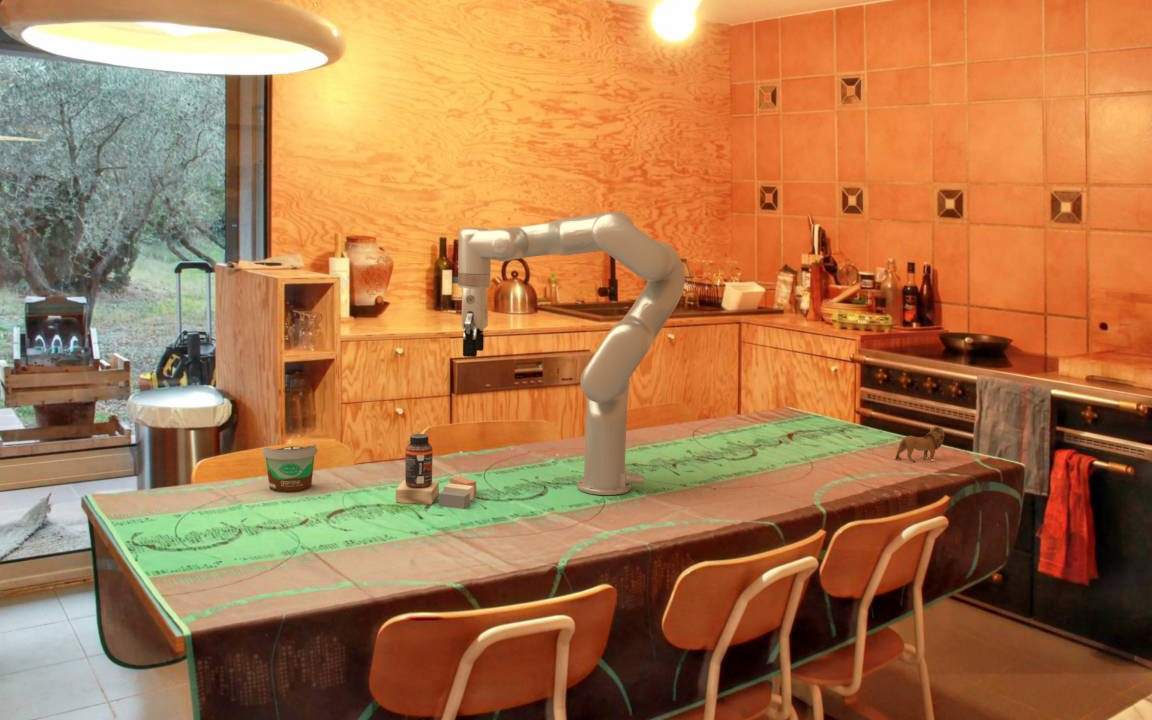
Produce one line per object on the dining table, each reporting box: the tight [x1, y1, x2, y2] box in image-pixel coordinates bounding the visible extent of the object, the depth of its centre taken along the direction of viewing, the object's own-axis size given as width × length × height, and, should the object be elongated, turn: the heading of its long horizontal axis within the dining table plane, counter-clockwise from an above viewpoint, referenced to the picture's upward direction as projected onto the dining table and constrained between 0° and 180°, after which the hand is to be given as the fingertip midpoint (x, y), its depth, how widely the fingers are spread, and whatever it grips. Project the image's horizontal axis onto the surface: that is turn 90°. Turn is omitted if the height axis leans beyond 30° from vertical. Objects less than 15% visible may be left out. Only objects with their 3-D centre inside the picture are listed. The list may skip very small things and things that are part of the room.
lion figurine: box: [894, 426, 945, 462], centre depth 284 cm, size 15×5×9 cm, turn 109°
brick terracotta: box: [449, 475, 477, 495], centre depth 242 cm, size 6×3×3 cm, turn 44°
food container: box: [261, 441, 318, 494], centre depth 239 cm, size 12×6×10 cm, turn 117°
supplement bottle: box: [404, 433, 433, 488], centre depth 235 cm, size 6×6×11 cm
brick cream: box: [443, 482, 475, 501], centre depth 237 cm, size 6×3×3 cm, turn 73°
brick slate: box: [438, 489, 471, 510], centre depth 232 cm, size 6×3×3 cm, turn 73°
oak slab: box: [395, 479, 440, 505], centre depth 236 cm, size 8×8×3 cm
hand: (473, 353), depth 250 cm, fingers open, 9 cm apart
